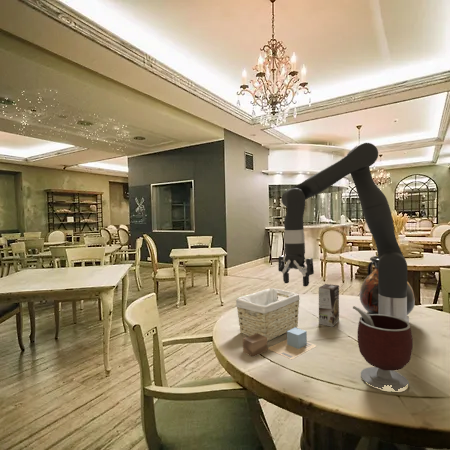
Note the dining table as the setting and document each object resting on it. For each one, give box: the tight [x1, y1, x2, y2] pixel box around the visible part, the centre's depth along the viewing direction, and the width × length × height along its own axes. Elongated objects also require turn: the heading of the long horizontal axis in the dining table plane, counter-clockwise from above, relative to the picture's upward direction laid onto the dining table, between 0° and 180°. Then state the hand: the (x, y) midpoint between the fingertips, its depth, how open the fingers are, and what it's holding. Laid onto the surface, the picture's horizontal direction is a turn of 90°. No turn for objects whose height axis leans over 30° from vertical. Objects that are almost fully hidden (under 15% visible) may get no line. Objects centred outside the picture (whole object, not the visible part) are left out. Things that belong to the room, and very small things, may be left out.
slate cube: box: [286, 327, 308, 349], centre depth 110 cm, size 5×5×5 cm
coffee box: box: [318, 283, 340, 327], centre depth 131 cm, size 9×6×16 cm
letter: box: [267, 338, 317, 360], centre depth 108 cm, size 11×15×1 cm
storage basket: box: [235, 287, 300, 342], centre depth 124 cm, size 24×16×15 cm
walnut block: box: [242, 333, 268, 358], centre depth 105 cm, size 5×7×5 cm
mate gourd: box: [352, 305, 414, 391], centre depth 86 cm, size 16×14×20 cm
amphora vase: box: [359, 255, 416, 316], centre depth 132 cm, size 22×22×28 cm
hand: (295, 284), depth 113 cm, fingers open, 8 cm apart
